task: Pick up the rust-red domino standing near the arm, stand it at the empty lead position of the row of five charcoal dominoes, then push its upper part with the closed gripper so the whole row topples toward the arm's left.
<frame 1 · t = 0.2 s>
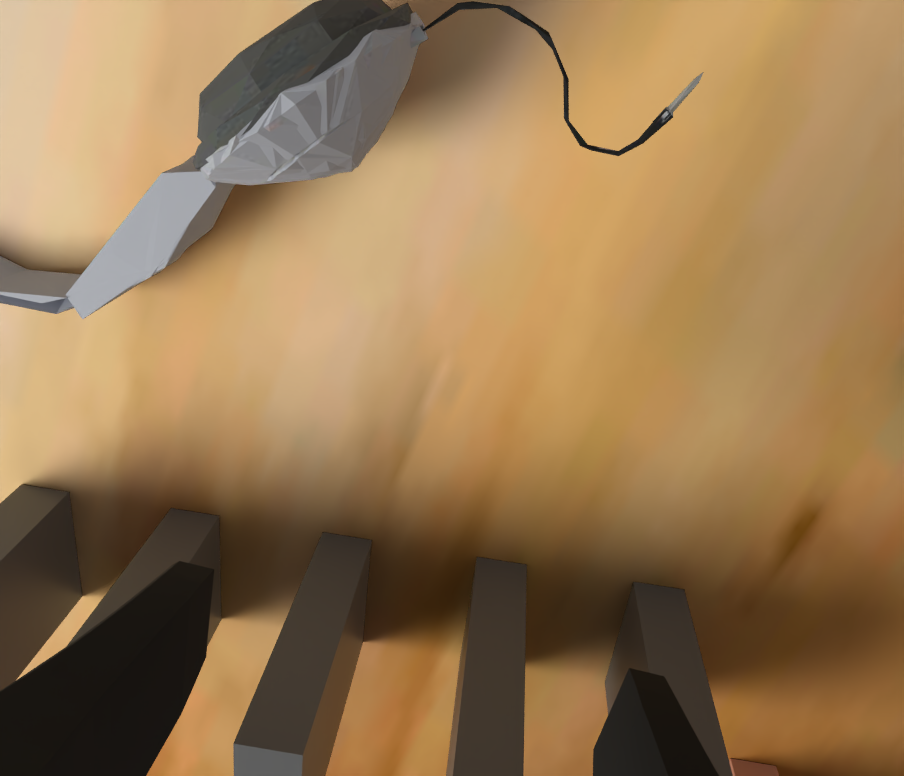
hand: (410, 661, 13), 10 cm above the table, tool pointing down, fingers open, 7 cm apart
headphones: (143, 1, 19), on the table
domino 4: (343, 589, 25), on the table
domino 5: (197, 565, 26), on the table
domino 2: (642, 637, 25), on the table
domino 3: (492, 613, 25), on the table
domino 6: (53, 542, 26), on the table
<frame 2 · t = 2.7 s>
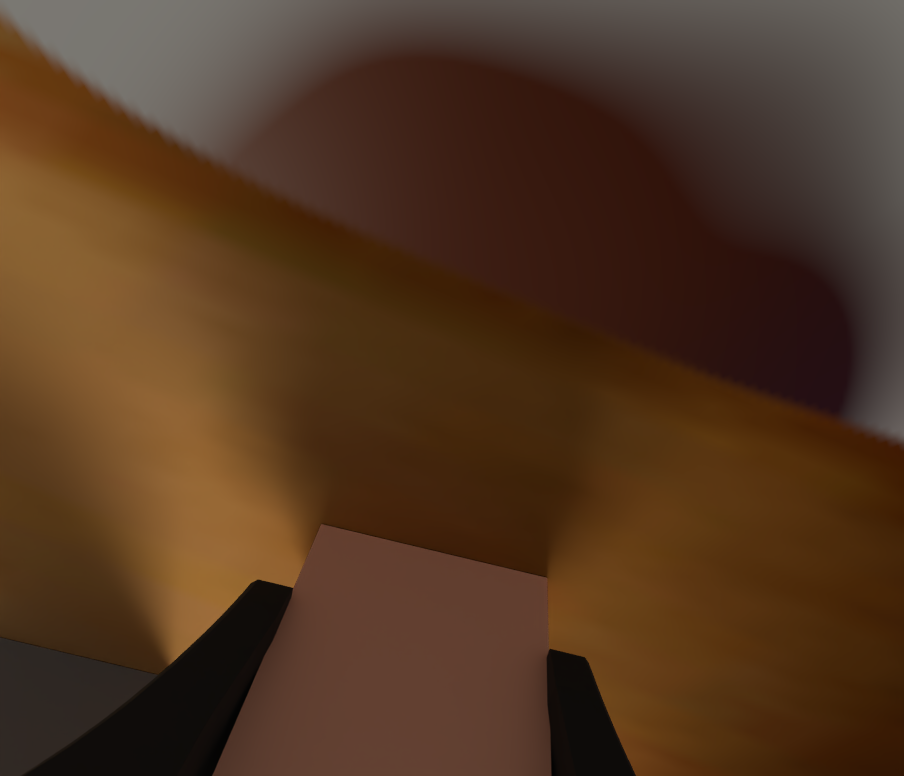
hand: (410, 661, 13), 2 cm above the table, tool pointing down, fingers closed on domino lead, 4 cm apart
domino 2: (76, 681, 17), on the table
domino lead: (426, 583, 15), on the table, touching gripper
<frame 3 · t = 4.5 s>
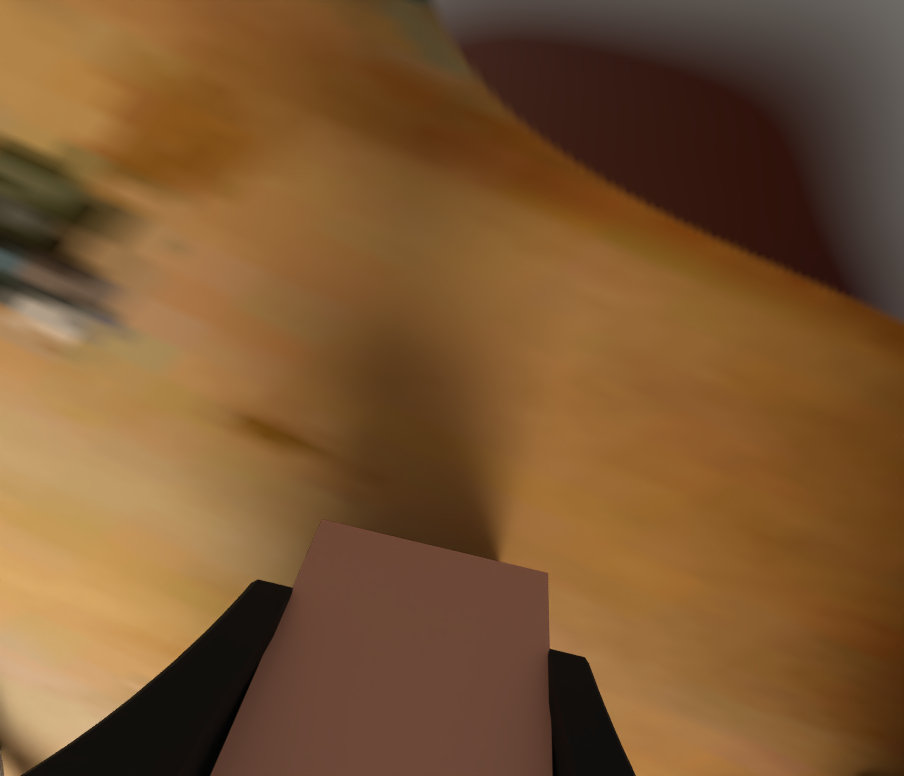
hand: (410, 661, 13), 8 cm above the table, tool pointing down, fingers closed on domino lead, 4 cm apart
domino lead: (426, 578, 15), point 6 cm above the table, touching gripper
when the fingers open (3 cm above the table, at t = 6.2 s): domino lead stays where it is, on the table.
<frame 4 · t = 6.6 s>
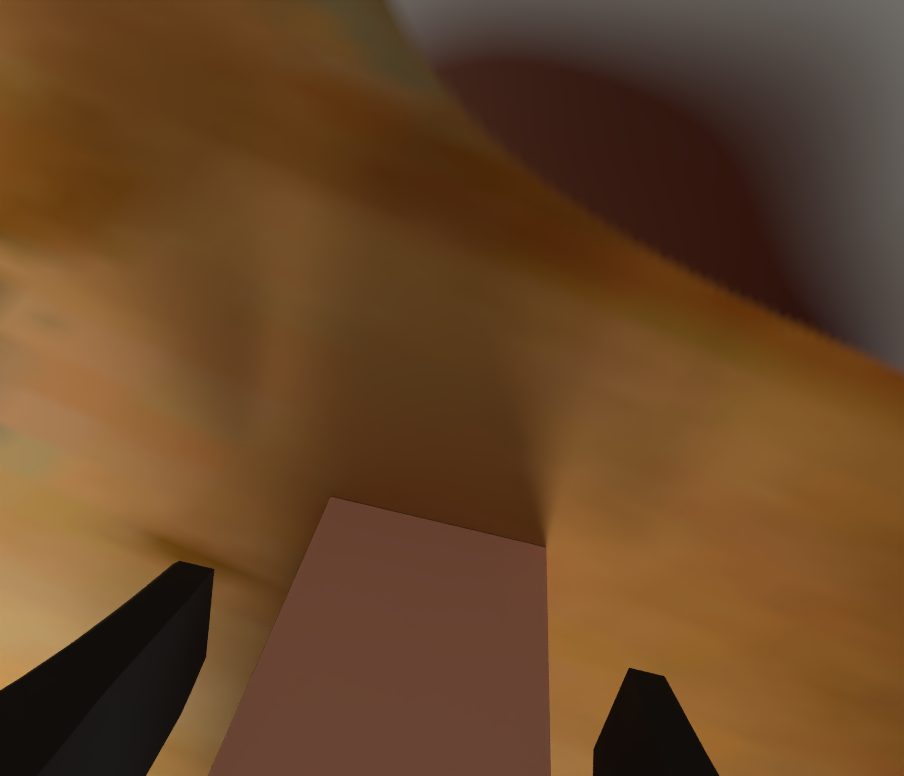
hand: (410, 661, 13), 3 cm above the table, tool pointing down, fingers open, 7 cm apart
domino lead: (430, 553, 15), on the table
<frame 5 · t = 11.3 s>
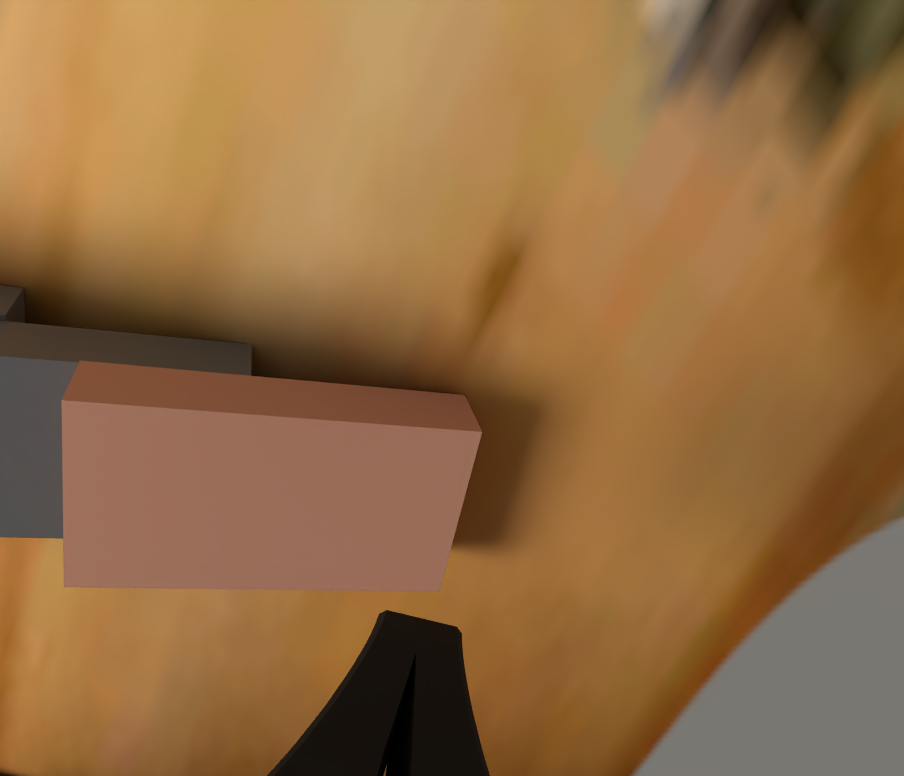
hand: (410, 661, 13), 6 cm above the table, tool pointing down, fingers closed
domino 2: (243, 444, 18), point 1 cm above the table, tilted 71°, touching domino 3, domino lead
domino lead: (451, 494, 18), point 1 cm above the table, tilted 72°, touching domino 2
domino 3: (19, 389, 18), point 1 cm above the table, tilted 70°, touching domino 2, domino 4
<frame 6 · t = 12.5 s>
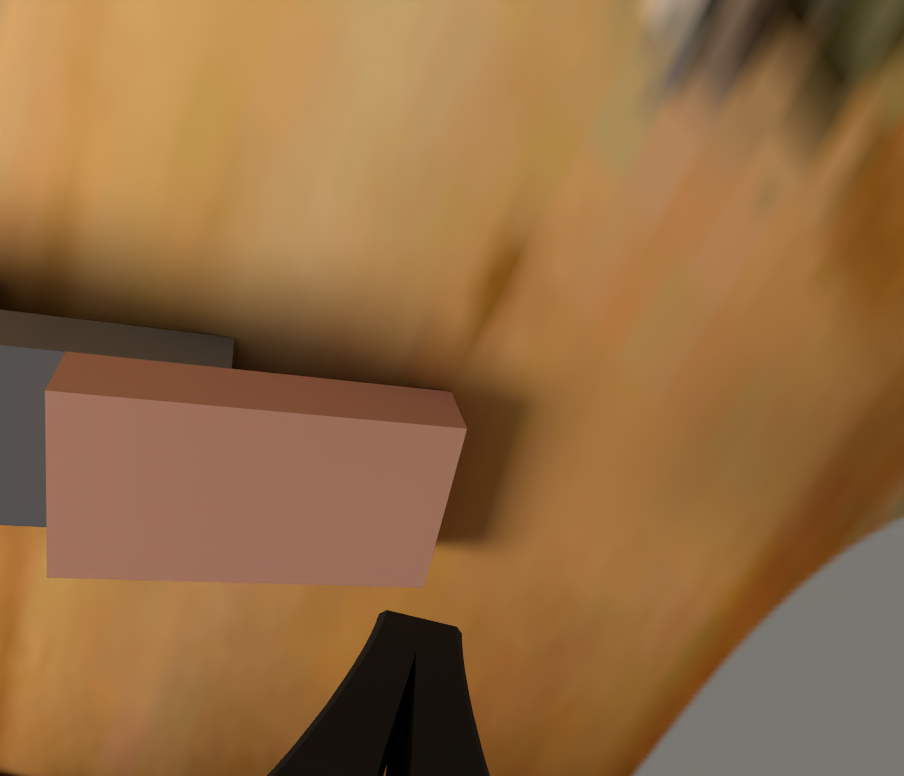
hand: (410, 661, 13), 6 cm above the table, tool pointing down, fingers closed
domino 2: (223, 438, 18), point 1 cm above the table, tilted 72°, touching domino 3, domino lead
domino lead: (437, 491, 18), point 1 cm above the table, tilted 72°, touching domino 2
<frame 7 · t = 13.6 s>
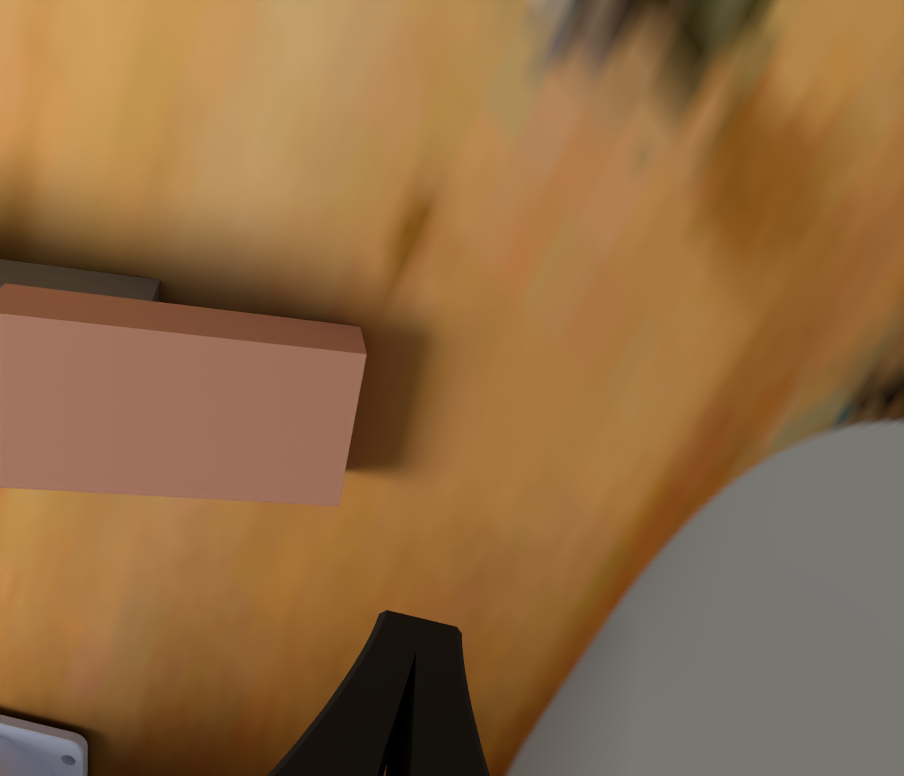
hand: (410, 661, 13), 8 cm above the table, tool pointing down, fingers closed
domino 2: (151, 371, 19), point 1 cm above the table, tilted 73°, touching domino 3, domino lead
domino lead: (349, 417, 19), point 1 cm above the table, tilted 72°, touching domino 2
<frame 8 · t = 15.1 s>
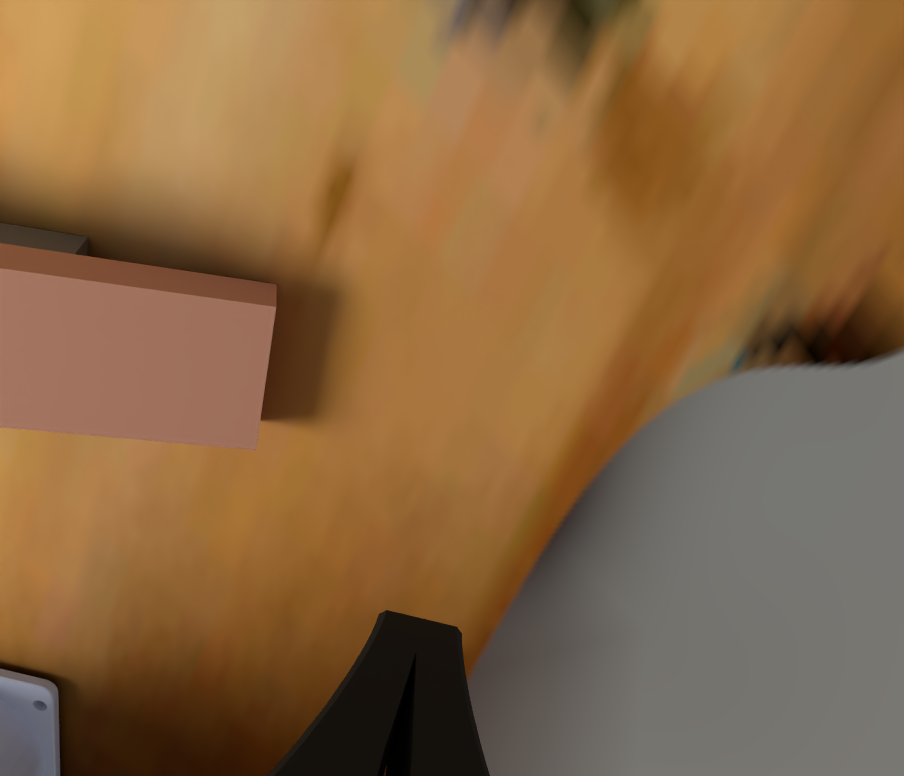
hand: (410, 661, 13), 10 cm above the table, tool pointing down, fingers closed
domino 2: (79, 321, 21), point 1 cm above the table, tilted 74°, touching domino 3, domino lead
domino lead: (266, 368, 21), point 1 cm above the table, tilted 73°, touching domino 2
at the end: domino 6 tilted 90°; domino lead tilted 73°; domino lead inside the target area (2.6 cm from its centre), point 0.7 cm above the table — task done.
